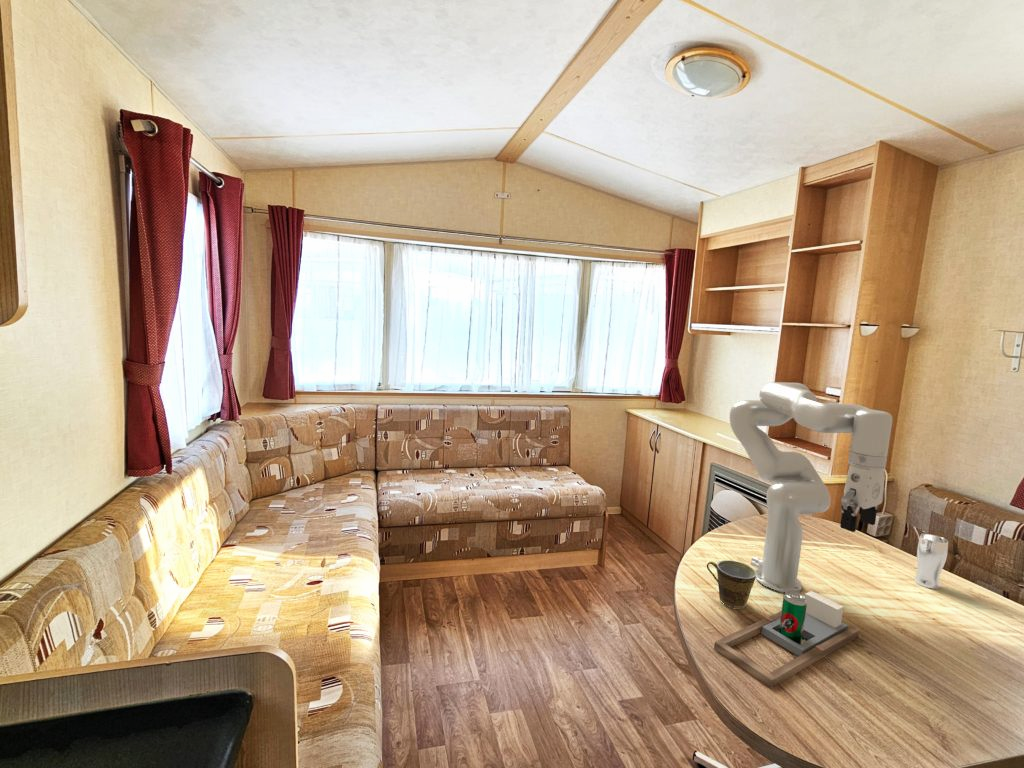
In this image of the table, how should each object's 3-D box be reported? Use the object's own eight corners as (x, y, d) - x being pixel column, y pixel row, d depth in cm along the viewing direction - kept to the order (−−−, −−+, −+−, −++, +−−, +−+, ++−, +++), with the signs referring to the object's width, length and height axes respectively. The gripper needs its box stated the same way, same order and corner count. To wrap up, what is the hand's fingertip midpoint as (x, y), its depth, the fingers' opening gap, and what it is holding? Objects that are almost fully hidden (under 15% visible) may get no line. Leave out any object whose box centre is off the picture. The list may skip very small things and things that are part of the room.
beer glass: (917, 586, 150) (924, 540, 148) (908, 576, 157) (916, 531, 155) (945, 592, 148) (953, 545, 146) (935, 581, 154) (943, 536, 152)
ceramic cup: (757, 603, 137) (761, 569, 136) (745, 617, 130) (749, 582, 129) (710, 584, 146) (714, 552, 145) (697, 597, 139) (700, 564, 137)
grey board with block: (761, 633, 123) (764, 608, 122) (807, 611, 134) (810, 587, 133) (801, 658, 115) (805, 630, 114) (847, 632, 125) (850, 606, 124)
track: (713, 648, 117) (714, 640, 117) (801, 607, 136) (802, 600, 136) (771, 688, 105) (772, 679, 105) (858, 636, 124) (859, 629, 124)
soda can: (804, 649, 118) (811, 603, 117) (782, 646, 119) (788, 600, 117) (796, 636, 123) (802, 591, 122) (775, 633, 124) (780, 589, 122)
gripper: (867, 468, 113) (856, 538, 115) (901, 460, 122) (891, 526, 124) (832, 459, 119) (823, 526, 121) (867, 452, 128) (858, 515, 130)
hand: (857, 526), depth 123 cm, fingers open, 9 cm apart
